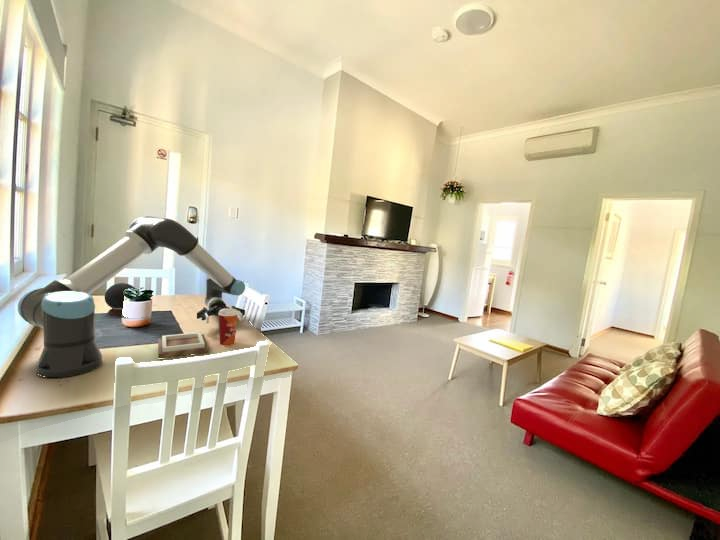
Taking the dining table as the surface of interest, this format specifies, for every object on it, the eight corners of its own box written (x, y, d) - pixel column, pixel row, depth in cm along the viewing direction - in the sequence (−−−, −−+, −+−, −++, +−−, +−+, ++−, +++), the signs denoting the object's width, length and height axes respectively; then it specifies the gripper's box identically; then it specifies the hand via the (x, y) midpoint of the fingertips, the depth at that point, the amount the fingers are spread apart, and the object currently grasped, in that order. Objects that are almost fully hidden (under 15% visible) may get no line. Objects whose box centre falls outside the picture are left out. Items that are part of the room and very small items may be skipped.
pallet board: (158, 359, 107) (158, 350, 107) (158, 343, 121) (158, 335, 120) (208, 353, 116) (208, 344, 116) (203, 338, 129) (203, 330, 129)
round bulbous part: (130, 317, 148) (130, 286, 146) (98, 316, 145) (98, 285, 143) (143, 309, 161) (143, 281, 159) (113, 309, 158) (113, 280, 156)
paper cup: (229, 347, 123) (231, 313, 121) (212, 344, 124) (213, 311, 122) (241, 341, 130) (242, 309, 129) (225, 338, 132) (226, 306, 130)
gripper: (243, 312, 158) (254, 324, 141) (187, 316, 144) (192, 330, 127) (243, 298, 157) (254, 308, 140) (188, 300, 143) (192, 312, 126)
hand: (225, 318), depth 133 cm, fingers open, 13 cm apart
